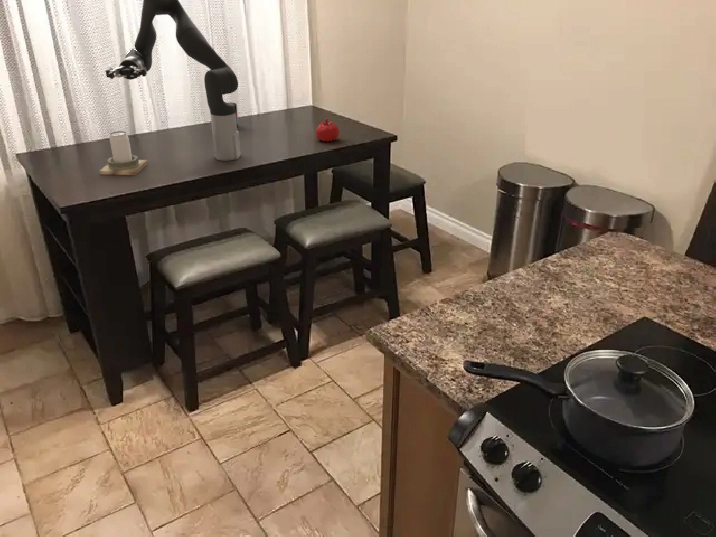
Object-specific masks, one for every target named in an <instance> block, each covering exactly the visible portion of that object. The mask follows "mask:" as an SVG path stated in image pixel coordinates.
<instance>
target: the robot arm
mask: <svg viewBox="0 0 716 537" xmlns="http://www.w3.org/2000/svg"><path fill="white" fill-rule="evenodd" d="M163 15H164V16H166V15H168V16H170V17H171V19H172V20H173V22H174V23H175V38H176V41H177V44H179V46H180V47H181V49H182V50H183V52H184V53H185V54H186V55H187V56H188V57H189V58H191V59H192V60H193V61H196V62H198V63H200V64H202V65H203V66H205V67H207V68H208V69H209V70H207V71H206V72H205V74H204V80H203V81H204V83H203V84H204V88H205V89H204V90H205V94H206V95H205V96H206V100H207V101H206V102H207V106H208V108H209V112H210V114H209V115H210V120H211V121H210V122H211V131H212V138H213V140H212V141H213V148H214V156H215V159H216V160H218V161H224V162H226V161H227V162H228V161H233V160H238V159H239V158H240V156H241V155H242V154H241V144H240V143H241V142H240V135H239V134H240V133H239V131H238V128H237V125H236V115H235V106H234V105H233V104H231V103H229V102H226V101H224V97H223V96H224V95H227V94H232V93H235V92H236V91H237V90H238V88H239V81H238V77H237V75H236V74H235V72H234V71H233V69H232V67H230V65H229V64H227V62H225V61H224V59H223V58H222V57H221V56H220V55H219V54H218V52H216V50H215V49H214V48H213V47H212V45H211V44H210V43H209V41H208V40H207V39H206V37H205V36H204V35H203V33H202V32H201V30H200V29H199V28H198V27H197V26H196V24H195V23H194V22H193V20H192V19H191V18H190V16H189V15H188V13H187V12H186V10H185V9H184V7H183V5H182V3H181V2H180V1H179V0H143V1H142V9H141V17H140V25H139V31H138V33H137V35H136V36H137V37H136V39H135V42H134V48H131V49H132V50H130V49H129V50H130V52H129V53H128V54H127V53H126V54H127V55H126V54H125V56H124V59H123V60H122V61H121V62H120V64H119V66H118V67H115V68H113V67H108V68H106V70H105V75H106V78H109V79H110V80H113V79H115V78H118V79H119V78H124V79H126V80H136V79H137V78H141V76H142V77H146V76H147V74H148V73H147V72H149V71H150V70H151V68H152V66H153V49H154V47H155V44H156V41H157V31H156V28H155V26H154V22H153V21H154V18H155V17H156V16H163ZM134 49H136V50H137V51H136V50H134Z"/></svg>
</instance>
